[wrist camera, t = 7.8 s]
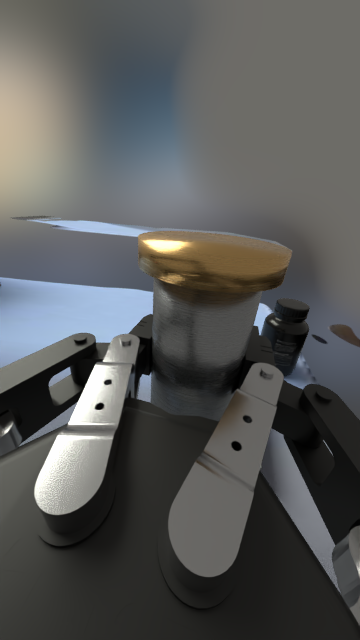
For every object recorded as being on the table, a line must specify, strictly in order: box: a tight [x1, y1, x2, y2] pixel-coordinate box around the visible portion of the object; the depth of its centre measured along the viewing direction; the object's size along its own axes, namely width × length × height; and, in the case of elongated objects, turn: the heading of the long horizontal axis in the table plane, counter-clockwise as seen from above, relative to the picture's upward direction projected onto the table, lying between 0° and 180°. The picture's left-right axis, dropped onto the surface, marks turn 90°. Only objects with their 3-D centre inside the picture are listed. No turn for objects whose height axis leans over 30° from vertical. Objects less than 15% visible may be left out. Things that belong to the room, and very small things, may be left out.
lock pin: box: [138, 231, 292, 421], centre depth 11 cm, size 6×6×12 cm
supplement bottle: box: [261, 298, 310, 376], centre depth 37 cm, size 7×7×12 cm
